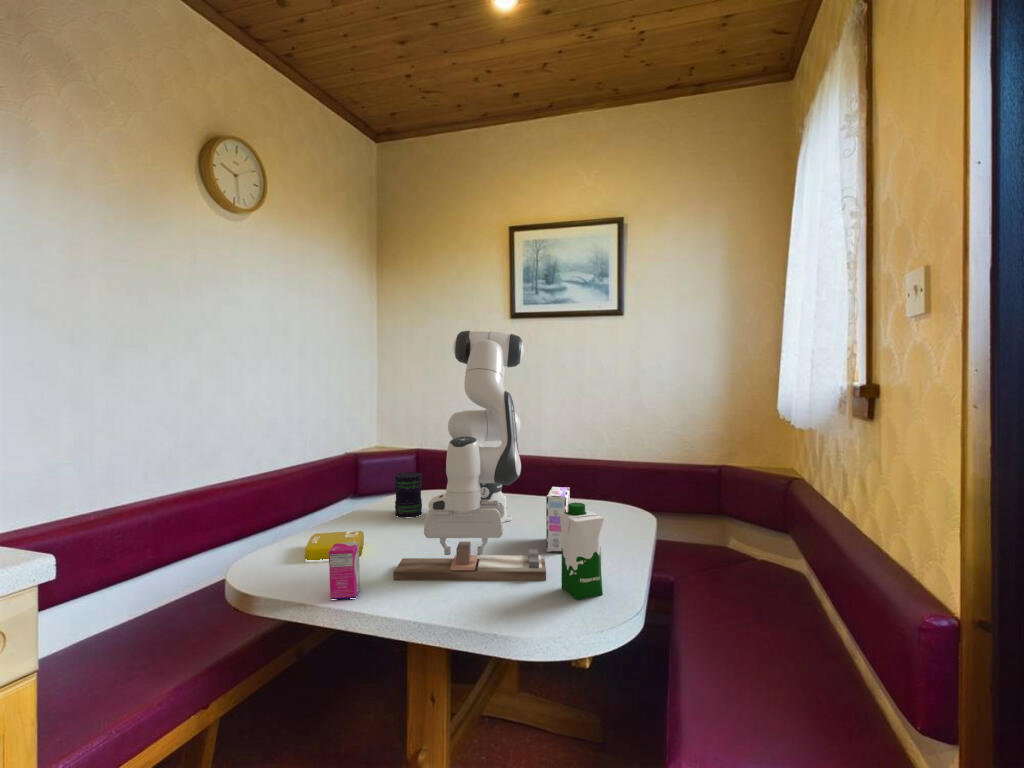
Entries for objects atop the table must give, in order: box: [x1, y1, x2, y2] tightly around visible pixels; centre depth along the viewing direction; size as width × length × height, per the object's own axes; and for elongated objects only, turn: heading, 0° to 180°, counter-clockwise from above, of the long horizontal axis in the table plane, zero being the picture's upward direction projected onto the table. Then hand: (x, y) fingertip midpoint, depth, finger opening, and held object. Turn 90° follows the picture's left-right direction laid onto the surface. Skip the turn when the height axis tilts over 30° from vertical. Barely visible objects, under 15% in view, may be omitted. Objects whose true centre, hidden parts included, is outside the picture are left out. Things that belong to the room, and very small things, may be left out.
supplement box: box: [328, 542, 361, 599], centre depth 121 cm, size 6×6×12 cm
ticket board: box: [392, 548, 547, 581], centre depth 134 cm, size 10×38×5 cm, turn 89°
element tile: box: [304, 530, 365, 560], centre depth 151 cm, size 15×15×5 cm
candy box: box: [545, 486, 571, 554], centre depth 156 cm, size 14×6×16 cm, turn 168°
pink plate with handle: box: [451, 541, 479, 570], centre depth 134 cm, size 9×6×5 cm, turn 179°
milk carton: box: [559, 502, 605, 601], centre depth 122 cm, size 9×9×20 cm
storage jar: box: [394, 471, 423, 518], centre depth 193 cm, size 10×10×15 cm
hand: (464, 554), depth 134 cm, fingers open, 7 cm apart
